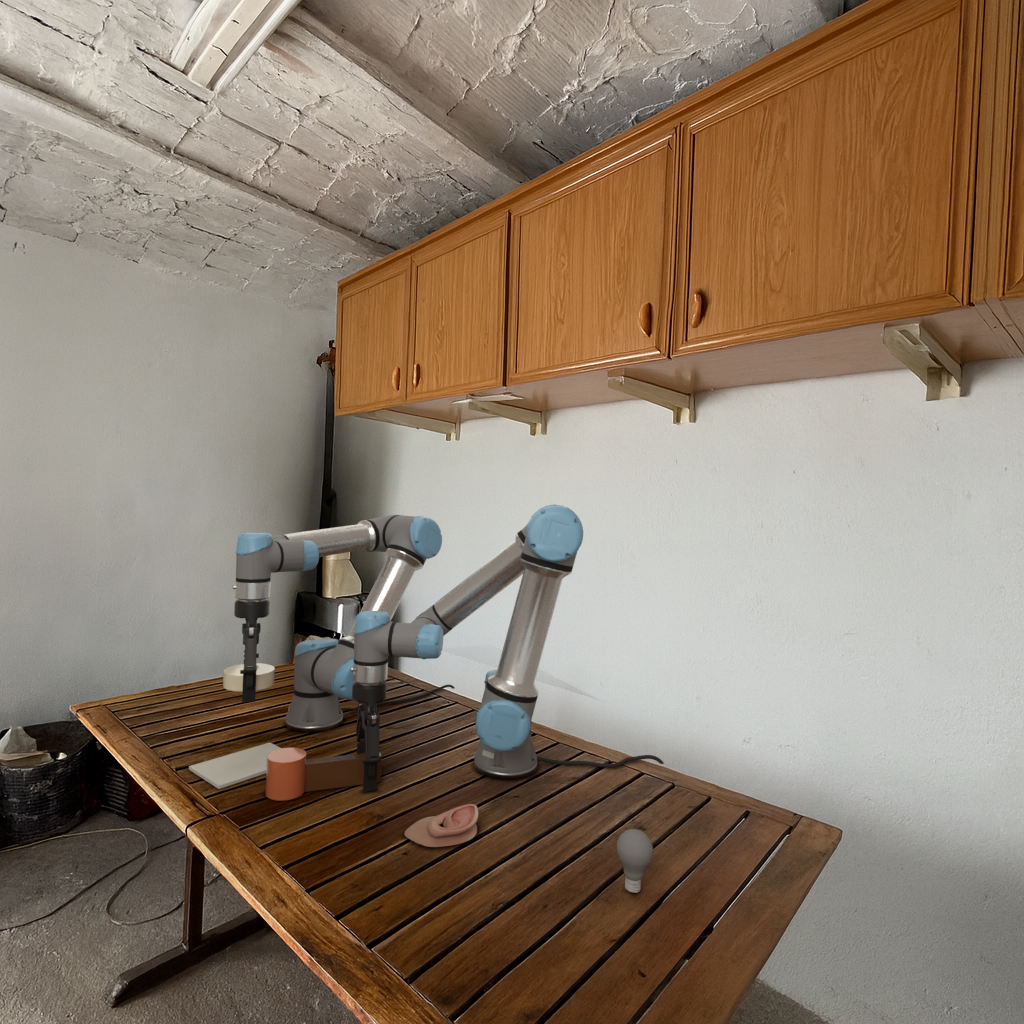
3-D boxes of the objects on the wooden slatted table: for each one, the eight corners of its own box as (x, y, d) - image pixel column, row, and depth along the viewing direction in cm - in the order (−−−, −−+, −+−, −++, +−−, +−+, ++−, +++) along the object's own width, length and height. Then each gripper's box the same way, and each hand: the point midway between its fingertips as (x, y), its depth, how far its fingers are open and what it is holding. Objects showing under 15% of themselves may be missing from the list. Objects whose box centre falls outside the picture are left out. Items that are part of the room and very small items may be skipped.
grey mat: (269, 745, 159) (269, 742, 159) (301, 761, 151) (301, 758, 151) (188, 769, 144) (188, 766, 144) (218, 789, 135) (218, 785, 135)
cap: (258, 675, 155) (259, 660, 155) (283, 684, 148) (284, 669, 148) (213, 683, 146) (214, 668, 146) (238, 694, 139) (238, 678, 139)
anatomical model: (398, 821, 117) (420, 793, 128) (397, 842, 117) (419, 813, 128) (468, 831, 114) (483, 802, 126) (467, 853, 114) (482, 822, 126)
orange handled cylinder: (265, 803, 130) (267, 764, 130) (265, 786, 137) (266, 749, 137) (382, 787, 139) (384, 751, 139) (376, 772, 147) (377, 738, 146)
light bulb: (610, 879, 108) (613, 822, 108) (644, 879, 109) (647, 822, 109) (619, 902, 102) (622, 840, 102) (655, 901, 103) (658, 840, 103)
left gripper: (235, 592, 156) (232, 680, 156) (233, 608, 134) (229, 711, 135) (268, 591, 159) (265, 678, 159) (271, 607, 137) (267, 708, 138)
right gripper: (345, 669, 150) (342, 762, 151) (360, 697, 130) (356, 805, 130) (377, 667, 153) (373, 759, 153) (397, 694, 133) (392, 800, 133)
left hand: (248, 693), depth 147 cm, fingers closed on cap, 11 cm apart
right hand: (365, 780), depth 142 cm, fingers open, 9 cm apart
